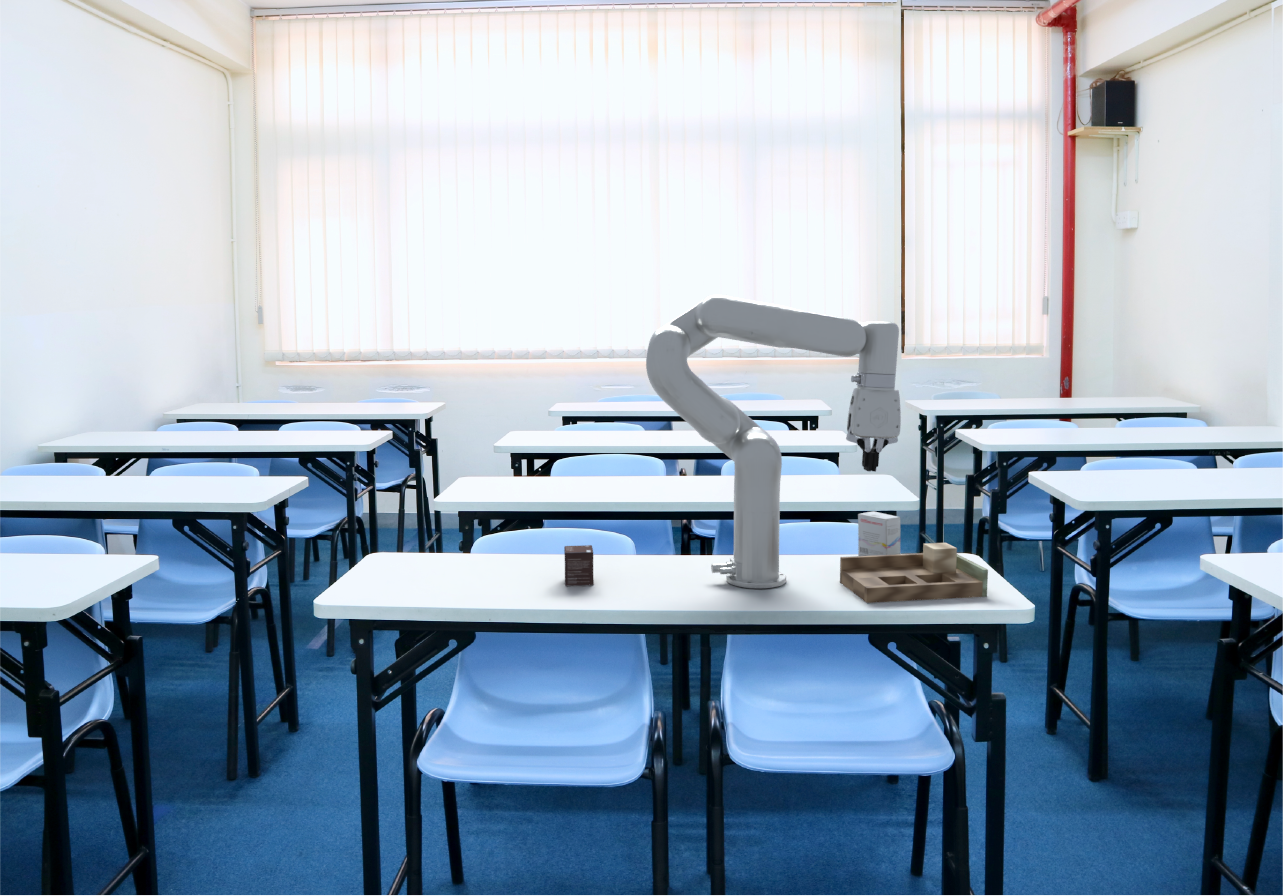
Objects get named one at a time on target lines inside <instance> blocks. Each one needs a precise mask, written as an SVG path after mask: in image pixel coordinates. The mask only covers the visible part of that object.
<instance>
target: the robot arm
mask: <svg viewBox="0 0 1283 896" xmlns="http://www.w3.org/2000/svg"><path fill="white" fill-rule="evenodd" d="M899 334H900V328H899V325H898V324H897V323H895V322H893V321H892V322H891V321H890V322H889V321H875V320H873V321H866V322H864V321H863V322H861V321H857V320H854V319H851V318H846V317H842V316H841V317H840V316H834V315H827V314H821V313H817V312H816V313H815V312H810V311H805V310H801V309H796V308H793V307H789V306H785V305H780V304H774V303H770V302H764V301H757V300H752V299H746V298H740V297H733V296H729V295H722V294H712V295H708V296H706V297H704V298H703V299H702V300H701V301H699V302H698V303H696V304H695V305H694V306H692V307H691V308H690V309H688V310H686V311H685V312H684V313H682V314H680V315H679V316H677V317H676V318H674V319H672V320H671V321H669V322H667V323H666V324H664V325H662V326H661V327H660V328H658V329H656V330H655V331H654V333H653V334H652V335H651V337H650V340H649V341H648V346H647V352H646V359H645V360H646V364H645V367H646V368H645V369H646V373H647V377H648V380H649V383H650V385H651V388H653V390H654V392H655V394H656V395H657V396H658V397H659V398H660V400H662V401H663V402H664V403H665V404H666V405H667V406H669V407H670V409H672V410H673V411H674V412H675V413H676V414H677V415H678V416H679V417H680V418H681V419H683V420H684V421H685V422H686V423H687V424H688V425H690V426H691V427H692V428H693V429H694V430H695V431H696V432H697V434H698V435H700V437H701V438H702V439H704V440H705V441H707V442H709V443H711V444H713V446H715V447H716V448H717V449H719V450H720V451H721V452H722V453H723V454H725V455H726V456H727V457H728V458H729V459H730V460H732V462H734V476H733V477H734V479H733V480H734V482H733V483H734V484H733V557H729V561H726V562H725V563H711V565H710V569H711V573H712V574H715V573H716V574H718V573H719V575H726V578H725V580H726V582H727V583H728V584H730V585H733V586H735V587H739V588H745V589H746V588H747V589H771V588H777V587H778V588H779V587H780V586H783V585H785V584H786V583H787V575H785V573H783V572H781V571H780V515H781V514H780V513H781V511H780V510H781V509H780V506H781V505H780V504H781V503H780V501H781V500H780V499H781V496H780V495H781V477H782V465H783V463H782V462H783V460H782V459H783V458H782V452H781V449H780V446H779V444H778V443H777V441H776V440H775V439H774V438H773V437H772V436H771V435H770V433H769V432H767V431H766V430H765V429H763V428H762V426H760V425H759V424H758V423H756V422H755V421H754V419H752V418H751V417H749V416H748V415H747V414H746V413H745V412H744V411H742V410H741V409H740V408H739V407H738V406H737V405H736V404H734V403H733V402H732V401H731V400H730V399H728V398H726V397H725V396H720V395H719V394H718V393H717V392H716V391H714V389H712V388H711V387H710V386H708V384H706V383H705V382H704V381H703V380H702V378H700V377H699V376H697V375H696V374H695V373H694V371H692V369H691V368H690V366H689V364H688V357H690V356H692V355H693V354H694V353H696V352H698V351H700V350H701V349H703V348H704V347H706V346H707V345H709V344H711V343H712V342H714V341H715V340H716V339H718V338H721V339H727V340H732V341H733V340H734V341H740V342H745V343H751V344H756V345H762V346H767V347H772V348H779V349H780V348H783V349H796V350H797V349H798V350H804V351H809V352H813V353H814V352H816V353H820V354H827V355H831V356H838V357H845V358H851V357H853V356H856V355H859V357H858V370H857V373H856V375H851V378H850V382H851V383H855V384H856V387H854V388H853V391H852V395H851V398H850V403H849V408H848V412H847V413H848V414H847V415H848V416H847V421H846V422H847V423H846V431H847V435H846V438H845V440H846V441H848V442H851V443H854V444H856V445H857V446H858V447H859V449H861V451H862V457H861V458H862V459H861V461H862V462H861V466H862V467H863V470H864V471H867V472H877V468H878V467H879V460H880V453H881V452H882V451H883V449H884V448H886V446H887V445H893V444H896V443H898V441H899V439H898V437H899V436H900V433H901V426H902V425H901V423H902V422H901V421H902V420H901V418H902V417H901V415H902V414H901V413H902V412H901V398H900V391H899V390H898V389H896V376H897V375H896V372H897V361H898V352H899V351H898V348H899V347H898V346H899V337H900V335H899ZM871 439H873V440H872V445H871Z"/></svg>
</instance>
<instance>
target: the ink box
mask: <svg viewBox="0 0 1283 896" xmlns="http://www.w3.org/2000/svg"><path fill="white" fill-rule="evenodd" d="M857 520H858V521H857V523H858V525H857V530H858V533H857V536H858V539H857V541H858V542H857V543H858V544H857V545H858V549H857V550H858V555H857V556H873V555H896V554H901V517H900V516H897V515H892V514H887V513H882V512H877V511H867V512H863V513H858V514H857Z"/></svg>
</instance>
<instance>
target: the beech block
mask: <svg viewBox="0 0 1283 896" xmlns="http://www.w3.org/2000/svg"><path fill="white" fill-rule="evenodd" d="M922 545H923V547H922V550H923V551H922V553H923V567H924V568H925V569H927V570H929V571H931V572H932V573H944V572H956V561H957V554H958V548H957V547H955V546H953V545H951V544H949V543H947V542H933V543H923V544H922Z"/></svg>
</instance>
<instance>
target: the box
mask: <svg viewBox="0 0 1283 896" xmlns="http://www.w3.org/2000/svg"><path fill="white" fill-rule="evenodd" d="M593 548H594V547H593V545H591V544H587V545H564V550H563V551H564V586H565V587H575V586H576V587H577V586H582V587H584V586H594V585H595V583H594V549H593Z"/></svg>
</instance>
